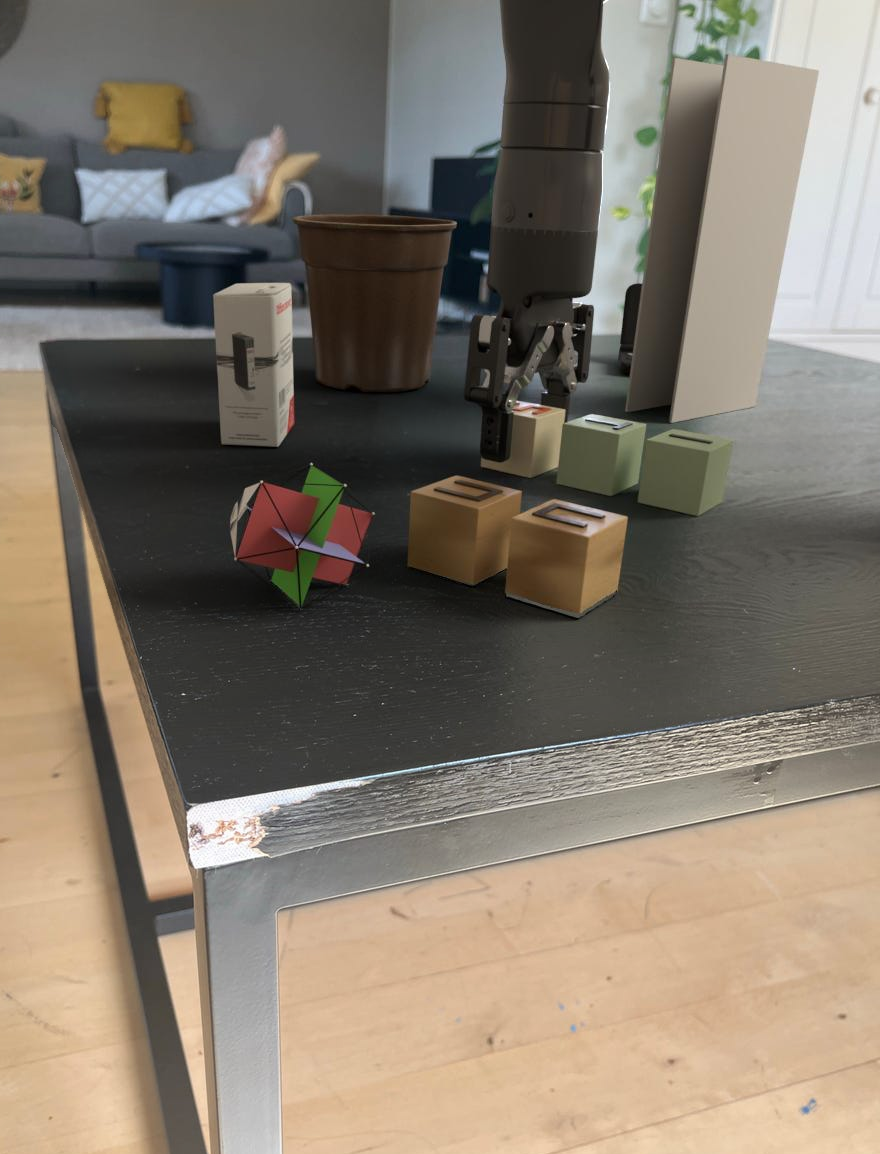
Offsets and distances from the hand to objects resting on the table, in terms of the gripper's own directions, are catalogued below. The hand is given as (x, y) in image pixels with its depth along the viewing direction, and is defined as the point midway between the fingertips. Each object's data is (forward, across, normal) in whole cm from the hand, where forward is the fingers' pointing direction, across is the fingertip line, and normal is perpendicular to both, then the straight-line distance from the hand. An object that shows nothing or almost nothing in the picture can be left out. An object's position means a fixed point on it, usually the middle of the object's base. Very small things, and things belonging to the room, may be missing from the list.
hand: (524, 449), depth 76 cm
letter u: (+1, -21, -15) cm, 26 cm away
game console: (+2, +52, +8) cm, 53 cm away
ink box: (+1, -7, +21) cm, 23 cm away
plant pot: (+1, +18, +29) cm, 34 cm away
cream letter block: (+1, 0, 0) cm, 1 cm away
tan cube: (+1, -21, -8) cm, 23 cm away
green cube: (+1, 0, -6) cm, 7 cm away
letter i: (+1, 0, -13) cm, 13 cm away
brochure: (+2, +31, -1) cm, 31 cm away
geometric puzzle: (+1, -30, -5) cm, 30 cm away
